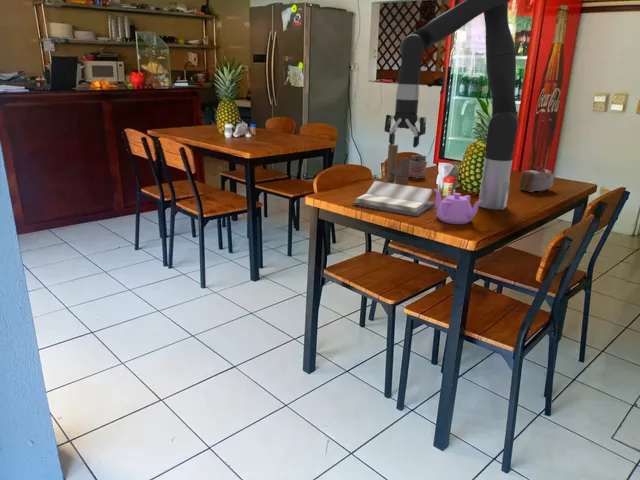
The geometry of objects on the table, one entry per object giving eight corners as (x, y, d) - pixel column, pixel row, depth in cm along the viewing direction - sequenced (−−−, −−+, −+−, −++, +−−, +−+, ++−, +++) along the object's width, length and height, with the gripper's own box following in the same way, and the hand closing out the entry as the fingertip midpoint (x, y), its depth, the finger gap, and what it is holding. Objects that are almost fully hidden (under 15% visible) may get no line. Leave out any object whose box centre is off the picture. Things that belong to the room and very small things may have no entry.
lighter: (407, 177, 222) (409, 155, 218) (407, 176, 225) (409, 154, 222) (425, 179, 221) (427, 156, 217) (425, 177, 224) (427, 155, 220)
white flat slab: (423, 207, 172) (424, 202, 171) (416, 212, 165) (416, 208, 165) (365, 197, 182) (365, 193, 181) (356, 202, 175) (356, 198, 175)
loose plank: (432, 192, 177) (432, 189, 176) (424, 206, 172) (424, 202, 171) (375, 184, 187) (374, 180, 186) (366, 196, 182) (366, 193, 182)
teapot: (431, 213, 168) (434, 188, 165) (473, 216, 167) (476, 190, 164) (435, 224, 157) (438, 196, 154) (480, 226, 156) (484, 199, 153)
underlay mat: (434, 204, 179) (434, 201, 179) (417, 216, 164) (418, 213, 164) (373, 194, 190) (373, 192, 190) (352, 205, 175) (352, 202, 175)
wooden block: (399, 195, 191) (403, 148, 185) (383, 189, 200) (386, 143, 194) (407, 194, 193) (411, 147, 187) (390, 188, 201) (394, 143, 195)
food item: (536, 186, 213) (540, 163, 210) (553, 190, 207) (558, 167, 203) (516, 190, 206) (520, 166, 202) (533, 194, 199) (538, 170, 196)
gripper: (431, 98, 170) (426, 146, 175) (392, 96, 176) (388, 142, 182) (423, 99, 163) (419, 149, 169) (383, 97, 170) (380, 145, 176)
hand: (403, 145), depth 175 cm, fingers open, 8 cm apart
